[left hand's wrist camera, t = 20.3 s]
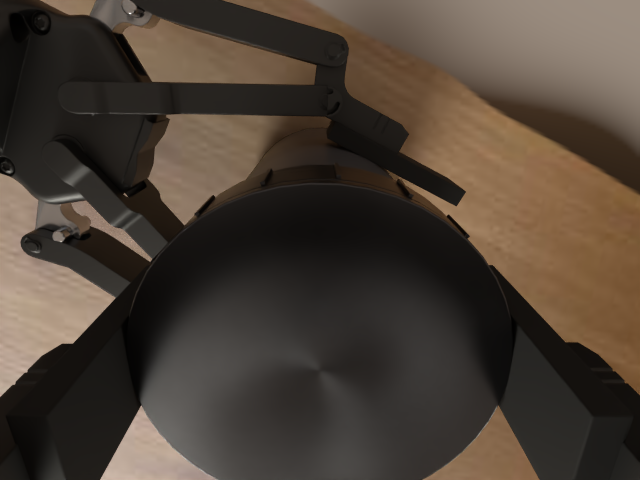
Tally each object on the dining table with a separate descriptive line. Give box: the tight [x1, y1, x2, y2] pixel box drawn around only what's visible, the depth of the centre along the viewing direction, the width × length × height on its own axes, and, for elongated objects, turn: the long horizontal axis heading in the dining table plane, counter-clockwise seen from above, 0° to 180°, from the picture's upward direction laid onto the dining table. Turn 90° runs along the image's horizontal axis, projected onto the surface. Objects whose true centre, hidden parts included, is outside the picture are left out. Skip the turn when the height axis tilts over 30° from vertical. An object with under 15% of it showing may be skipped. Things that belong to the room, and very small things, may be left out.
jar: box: [246, 128, 393, 180], centre depth 19 cm, size 9×9×16 cm
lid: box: [127, 162, 513, 480], centre depth 12 cm, size 10×10×2 cm
